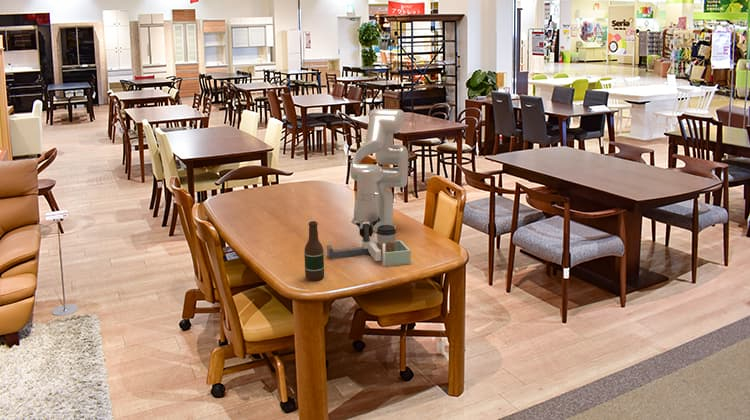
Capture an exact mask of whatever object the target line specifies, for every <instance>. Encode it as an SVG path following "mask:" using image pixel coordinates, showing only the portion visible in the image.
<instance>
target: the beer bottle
mask: <svg viewBox="0 0 750 420" xmlns="http://www.w3.org/2000/svg"><path fill="white" fill-rule="evenodd" d="M318 224H319V223H318V222H317V221H314V220H313V221H309V222H308V241H307V243H306V244H305V246H304V250H303V251H304V254H303V255H304V273H305V274H304V276H305V279H306V280H307V281H310V282H318V281H321V280H322V279H324V278H325V255H324V247H323V245H322V243H321V241H320V239H319V232H318Z"/></svg>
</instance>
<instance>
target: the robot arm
mask: <svg viewBox="0 0 750 420" xmlns="http://www.w3.org/2000/svg"><path fill="white" fill-rule="evenodd" d="M368 119H369V120H368V125H367V131H366V136H365V142H364V144H362V145H361V146H360V147H359V148H358V149H357V150H356V152H355V153H354V155H353V156H352V160H351V165H350V171H349V174H350V177H351V179H352V180H353V181H355V182H356V187H357V188H356V190H357V191H356V196H357V198H355V199H354V200H355V201H354V207H353V218H352V220H351V221H350V222H351V223H352V225H355V226H357V228H359V229H358V230H359V236H361V238H363V237H364V229H363V224H364V223H368V222H369V223H368V224H369V227H370V237H373V235H374V232H375V233H377V229H378V227H379V226H381V225H391V226H394V227H395V230H396V231H397V226H396V225H395V224H394V194H393V191H392V190H391V189H390V188H404V187H406V186H407V184H408V175H409V173H408V172H409V151H408V148H407V147H406V146H405V145H400V144H398V145H397V144H394V134H398V133H399V132H400V131H401V130H402V128H403V127H404V125H405V122H406V114H405V112H404V111H403V110H402V109H395V108H394V109H392V108H389V109H388V108H375V109H371V110H370V111H369V113H368ZM372 154H374V155H375V156H374V157H375V161H376V163H377V164H370V163H360V162H361V161H362V160H363V159H364V158H365V157H367V156H369V155H372ZM378 164H379V165H378ZM381 165H392V166H395V165H396V166H397V167H392V166H381Z"/></svg>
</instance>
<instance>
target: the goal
mask: <svg viewBox="0 0 750 420" xmlns="http://www.w3.org/2000/svg"><path fill="white" fill-rule="evenodd" d="M373 239H374V243H375V244H376V245H377V247H378V237H377V233H373ZM411 253H412V252H411V249H410V248H409V247H408V246H407V245H406V243H404V242H403V241H402V240H398V239H397V240H395V250H394V252H385V244H383V262H382V267H383V268H385V267H393V266H402V264H403V265H409V263H411V257H412V256H411Z"/></svg>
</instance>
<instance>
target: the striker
mask: <svg viewBox="0 0 750 420" xmlns="http://www.w3.org/2000/svg"><path fill="white" fill-rule="evenodd" d="M369 225H370V224H369V223H368V222H363V229H364V237H362V239H361V247H363V248H364V249H368V252H369V253H370V254H371V255H370V256H371V257H372V258H373V260H374V261H375V262H378V261H379V262H381V250H380V249H379V248H378V247H377V245H376V244H375V243H374V238H370V227H369Z"/></svg>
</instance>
